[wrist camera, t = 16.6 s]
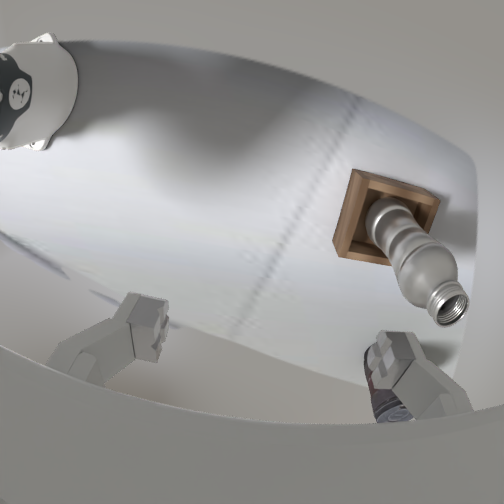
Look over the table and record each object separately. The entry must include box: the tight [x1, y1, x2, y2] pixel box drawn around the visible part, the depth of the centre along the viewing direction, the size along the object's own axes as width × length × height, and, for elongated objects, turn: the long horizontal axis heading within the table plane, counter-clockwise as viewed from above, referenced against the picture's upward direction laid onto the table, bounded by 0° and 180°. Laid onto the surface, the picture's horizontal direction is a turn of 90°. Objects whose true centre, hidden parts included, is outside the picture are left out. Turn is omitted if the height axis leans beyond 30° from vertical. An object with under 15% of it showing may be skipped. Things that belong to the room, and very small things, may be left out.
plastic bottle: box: [365, 197, 469, 327], centre depth 29 cm, size 6×7×20 cm
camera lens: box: [364, 346, 413, 423], centre depth 45 cm, size 8×8×15 cm
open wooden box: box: [332, 169, 440, 266], centre depth 37 cm, size 12×10×4 cm
